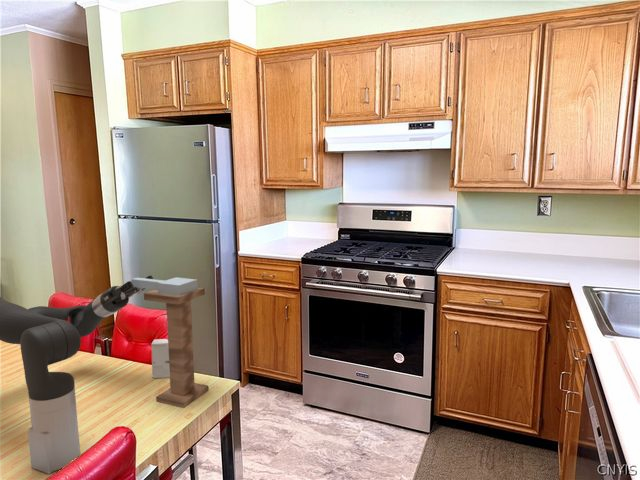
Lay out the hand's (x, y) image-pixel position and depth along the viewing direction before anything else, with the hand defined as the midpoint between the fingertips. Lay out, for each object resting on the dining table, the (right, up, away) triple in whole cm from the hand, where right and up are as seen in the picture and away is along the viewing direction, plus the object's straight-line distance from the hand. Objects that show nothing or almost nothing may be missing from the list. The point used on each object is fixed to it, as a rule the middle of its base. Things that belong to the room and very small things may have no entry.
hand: (141, 280), depth 139 cm
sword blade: (+7, -2, -3) cm, 8 cm away
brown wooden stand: (+12, -35, 0) cm, 37 cm away
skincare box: (+2, -33, +14) cm, 36 cm away
